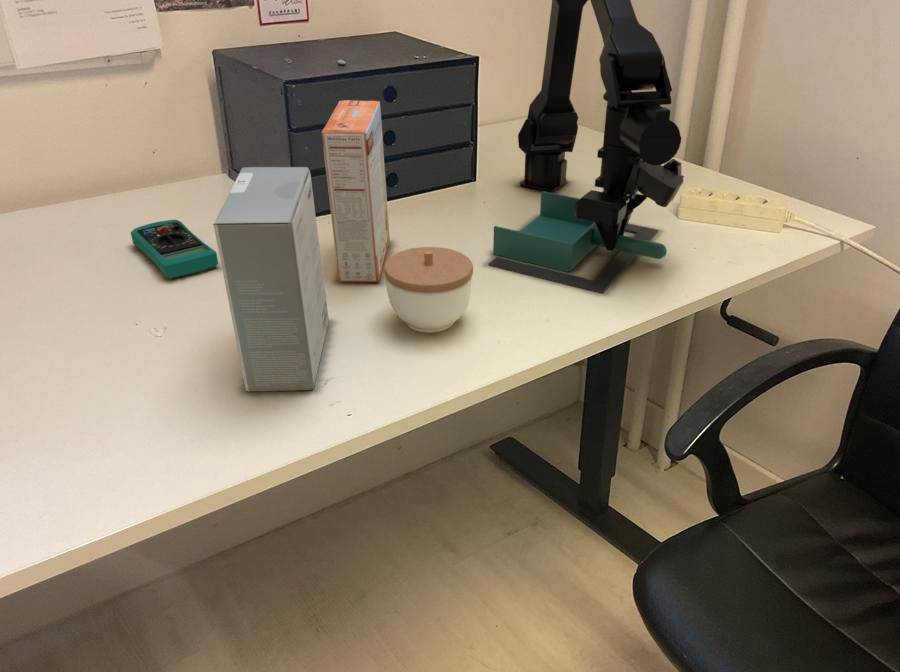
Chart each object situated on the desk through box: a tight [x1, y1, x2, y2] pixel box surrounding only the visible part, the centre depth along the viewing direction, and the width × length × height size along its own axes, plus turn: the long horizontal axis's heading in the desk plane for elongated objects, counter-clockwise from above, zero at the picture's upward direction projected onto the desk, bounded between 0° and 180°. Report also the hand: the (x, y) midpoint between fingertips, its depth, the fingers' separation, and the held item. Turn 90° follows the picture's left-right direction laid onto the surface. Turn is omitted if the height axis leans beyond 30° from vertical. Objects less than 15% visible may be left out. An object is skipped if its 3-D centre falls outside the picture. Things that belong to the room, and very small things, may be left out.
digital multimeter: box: [130, 219, 219, 279], centre depth 114 cm, size 7×15×3 cm, turn 39°
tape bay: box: [488, 223, 659, 294], centre depth 121 cm, size 18×24×1 cm
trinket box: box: [383, 246, 474, 334], centre depth 99 cm, size 11×11×9 cm
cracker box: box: [321, 99, 391, 283], centre depth 110 cm, size 14×6×21 cm, turn 1°
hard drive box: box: [212, 166, 330, 392], centre depth 89 cm, size 16×8×20 cm, turn 5°
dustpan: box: [492, 190, 668, 273], centre depth 120 cm, size 24×17×4 cm
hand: (613, 247), depth 119 cm, fingers closed on dustpan, 2 cm apart
